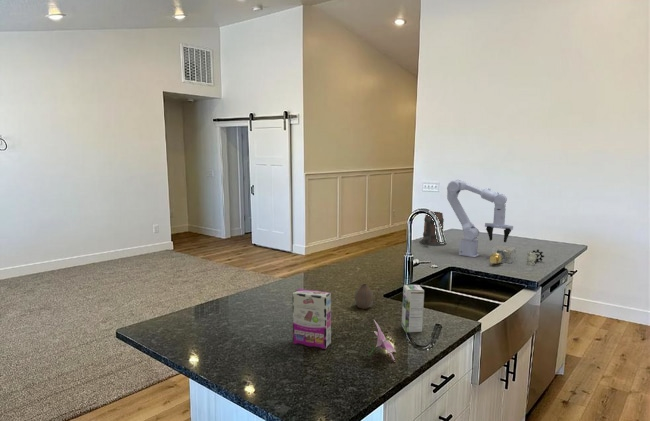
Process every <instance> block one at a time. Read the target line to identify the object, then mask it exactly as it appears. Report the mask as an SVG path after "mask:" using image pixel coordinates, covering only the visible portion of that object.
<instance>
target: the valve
mask: <svg viewBox="0 0 650 421" xmlns="http://www.w3.org/2000/svg"><path fill="white" fill-rule="evenodd" d="M538 253H539V254H538ZM543 253H544V252H543V251H540V249H536V250H535V249H534V250H532V251H527V254H526V255H527V256H526V265H528V266H535V264H536V262H539V261H540V262H541V261H543V258H545V255H543Z"/></svg>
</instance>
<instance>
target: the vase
mask: <svg viewBox="0 0 650 421" xmlns="http://www.w3.org/2000/svg"><path fill="white" fill-rule="evenodd" d="M354 294H355V295H354V303H355V305H356V306H357V307H358V308H359V309H364V310H366V309H369V308H370V307H372V305H373V301H374V294H373V291H372V290H371V289H370V288H369V286H368V284H366V283H361V284H360V286H359V288H358V289H357V290H356V292H355V293H354Z"/></svg>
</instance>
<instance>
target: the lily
mask: <svg viewBox="0 0 650 421" xmlns="http://www.w3.org/2000/svg"><path fill="white" fill-rule="evenodd" d="M373 321H374V323H375V326H376V328H377V330H378V331H376V330H374V331H373V332H374V334H375V335H376V337H377V342H376V345H375V347H373V348H372V350H371V351H370V353H369V354H368V357H370V356H371V354H372V353H373V352H374V351H375V349H376V348H381V349H384V350H386V352H387V353H388V354H389V355H390V356H391V358H392V360H393V361H394V360H395V358H394V355H393V353H392V352H394V353H397V351H396V349H395V348H394V346H393V344H392V343H391V342H390V338H388V337H387V339H386V337H385V334H384V332H383V331H382V328H381V327H380V325H379V324H378V322H376V320H375V319H373Z"/></svg>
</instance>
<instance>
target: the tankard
mask: <svg viewBox="0 0 650 421" xmlns="http://www.w3.org/2000/svg"><path fill="white" fill-rule="evenodd" d="M433 212H434V213H435V215H436V216H437V217H438V219H439V221H440V224H441V226H442V229H443V230H444V222H445V220H444V215H443V212H440V211H433ZM423 221H424V225H423V233H422V236H423V237H422V239H420V240H421V241H420V242H419V244H420V245H423V246H428V247H443V246H446V245H447V243H446V242H445V243H444V244H440V243H438V242H437V239H436V235H435V225H434V221H433V220H432V218H431V217H430V216H428V215H426V214H425V215H424V220H423Z"/></svg>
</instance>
